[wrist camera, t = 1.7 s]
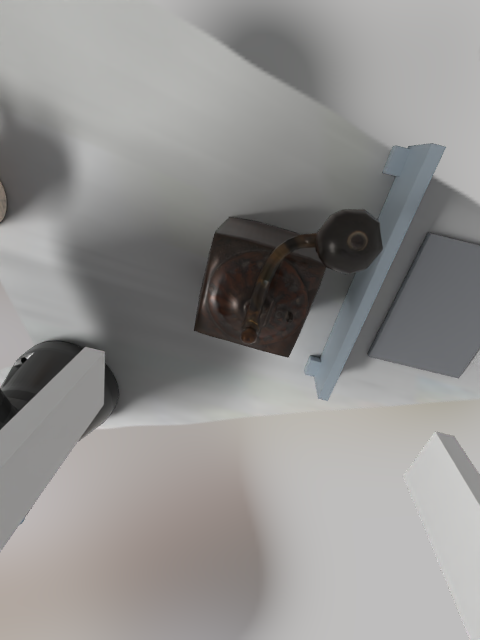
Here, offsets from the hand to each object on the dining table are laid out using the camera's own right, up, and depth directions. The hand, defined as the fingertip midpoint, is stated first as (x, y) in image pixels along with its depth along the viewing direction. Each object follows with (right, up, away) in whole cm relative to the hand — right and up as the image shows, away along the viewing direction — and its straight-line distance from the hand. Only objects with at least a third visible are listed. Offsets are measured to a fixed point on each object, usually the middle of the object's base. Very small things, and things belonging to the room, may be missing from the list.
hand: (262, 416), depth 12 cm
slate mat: (+23, +5, +25) cm, 34 cm away
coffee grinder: (+2, +12, +23) cm, 27 cm away
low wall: (+13, +8, +24) cm, 28 cm away
